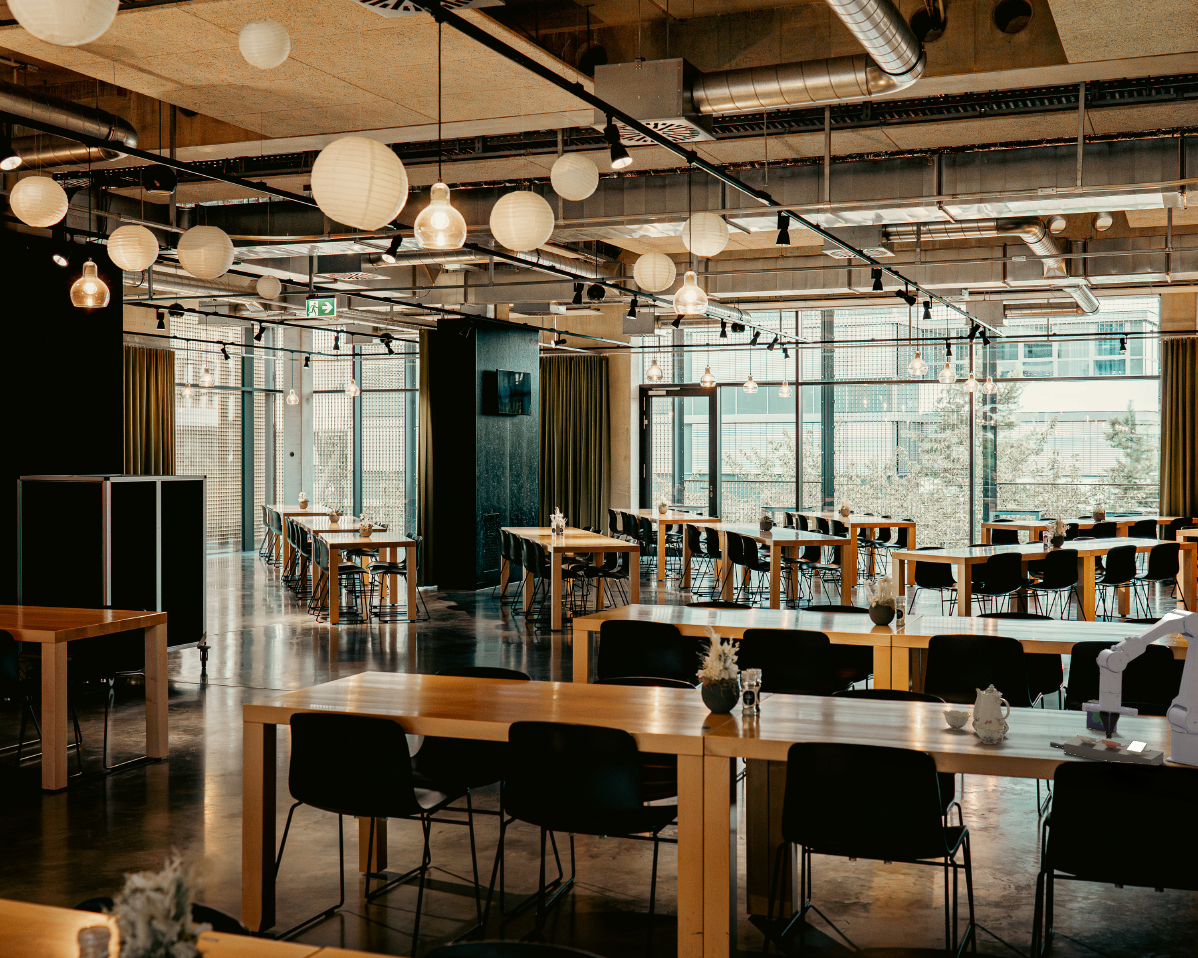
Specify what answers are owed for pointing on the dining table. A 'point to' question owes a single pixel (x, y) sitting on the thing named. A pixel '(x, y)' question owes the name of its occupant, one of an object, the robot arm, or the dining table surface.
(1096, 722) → the dark blue box
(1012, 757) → the dining table surface
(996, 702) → the chinaware
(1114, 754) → the power strip
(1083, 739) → the rocker
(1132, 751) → the rocker
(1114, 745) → the rocker middle
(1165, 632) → the robot arm
